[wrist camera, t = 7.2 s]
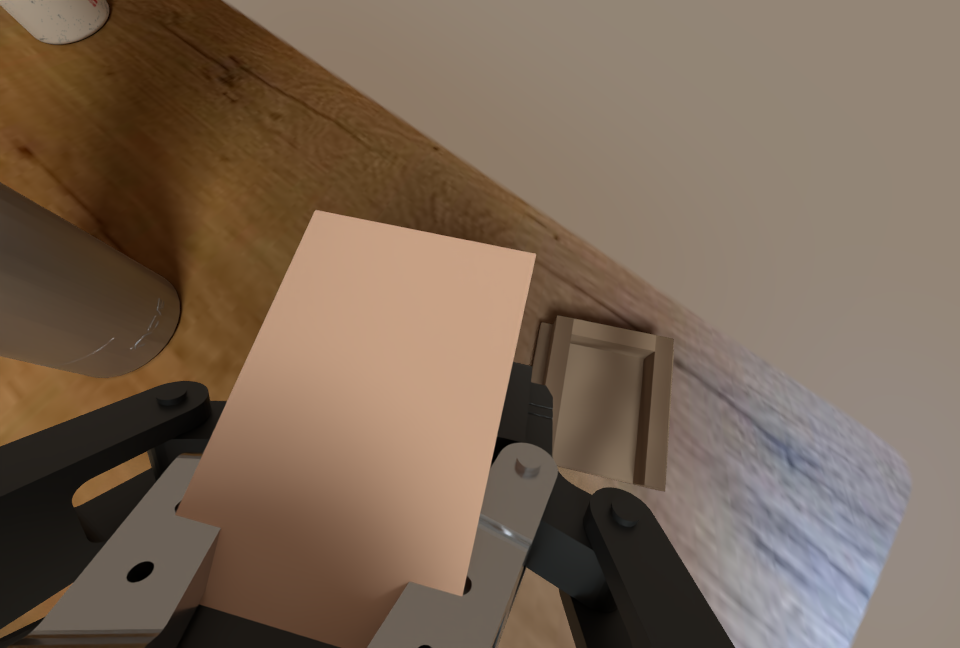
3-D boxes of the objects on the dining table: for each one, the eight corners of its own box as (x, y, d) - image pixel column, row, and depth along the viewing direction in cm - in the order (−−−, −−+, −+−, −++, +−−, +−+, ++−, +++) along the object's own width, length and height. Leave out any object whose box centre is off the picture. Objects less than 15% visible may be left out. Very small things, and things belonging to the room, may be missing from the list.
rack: (515, 456, 28) (518, 455, 25) (539, 326, 31) (544, 312, 28) (658, 490, 27) (679, 493, 24) (667, 353, 30) (686, 341, 27)
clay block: (373, 508, 15) (137, 595, 5) (417, 364, 17) (315, 210, 7) (472, 535, 15) (441, 691, 5) (505, 384, 17) (536, 254, 7)
